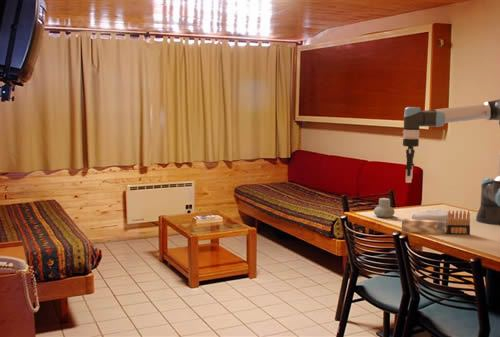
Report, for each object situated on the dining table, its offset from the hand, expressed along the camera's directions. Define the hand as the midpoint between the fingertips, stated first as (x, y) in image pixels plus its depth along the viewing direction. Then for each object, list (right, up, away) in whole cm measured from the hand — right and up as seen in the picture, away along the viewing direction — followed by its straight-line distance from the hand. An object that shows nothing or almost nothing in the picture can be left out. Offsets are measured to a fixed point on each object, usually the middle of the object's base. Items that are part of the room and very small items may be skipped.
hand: (409, 180), depth 274 cm
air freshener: (-7, -21, +24) cm, 32 cm away
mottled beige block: (+4, -25, -11) cm, 28 cm away
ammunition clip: (+19, -26, -15) cm, 35 cm away
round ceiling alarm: (+15, -23, +11) cm, 29 cm away
